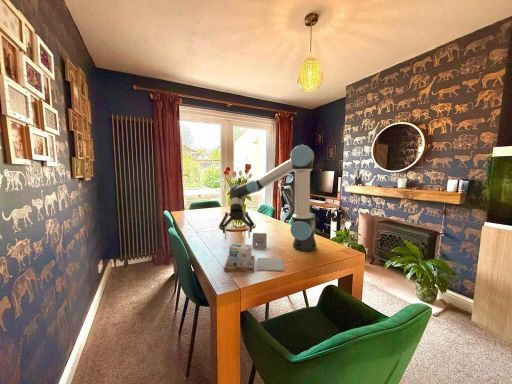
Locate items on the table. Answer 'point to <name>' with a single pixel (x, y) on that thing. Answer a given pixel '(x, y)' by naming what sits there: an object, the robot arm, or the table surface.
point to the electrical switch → (259, 240)
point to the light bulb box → (240, 255)
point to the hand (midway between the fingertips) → (237, 237)
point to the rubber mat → (270, 264)
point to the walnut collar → (239, 269)
